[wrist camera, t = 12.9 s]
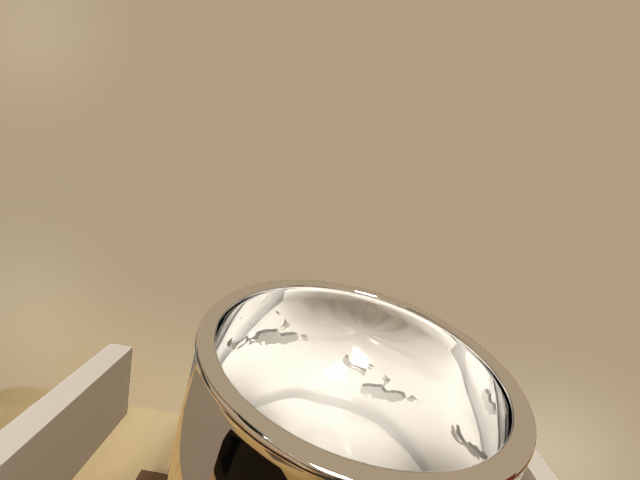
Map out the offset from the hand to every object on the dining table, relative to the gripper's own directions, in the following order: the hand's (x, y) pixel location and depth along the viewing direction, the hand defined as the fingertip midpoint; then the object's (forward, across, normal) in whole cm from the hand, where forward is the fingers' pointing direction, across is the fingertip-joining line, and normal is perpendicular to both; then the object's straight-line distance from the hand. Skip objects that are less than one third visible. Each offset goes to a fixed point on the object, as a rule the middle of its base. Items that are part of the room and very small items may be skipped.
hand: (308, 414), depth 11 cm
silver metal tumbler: (-4, 0, -10) cm, 11 cm away
